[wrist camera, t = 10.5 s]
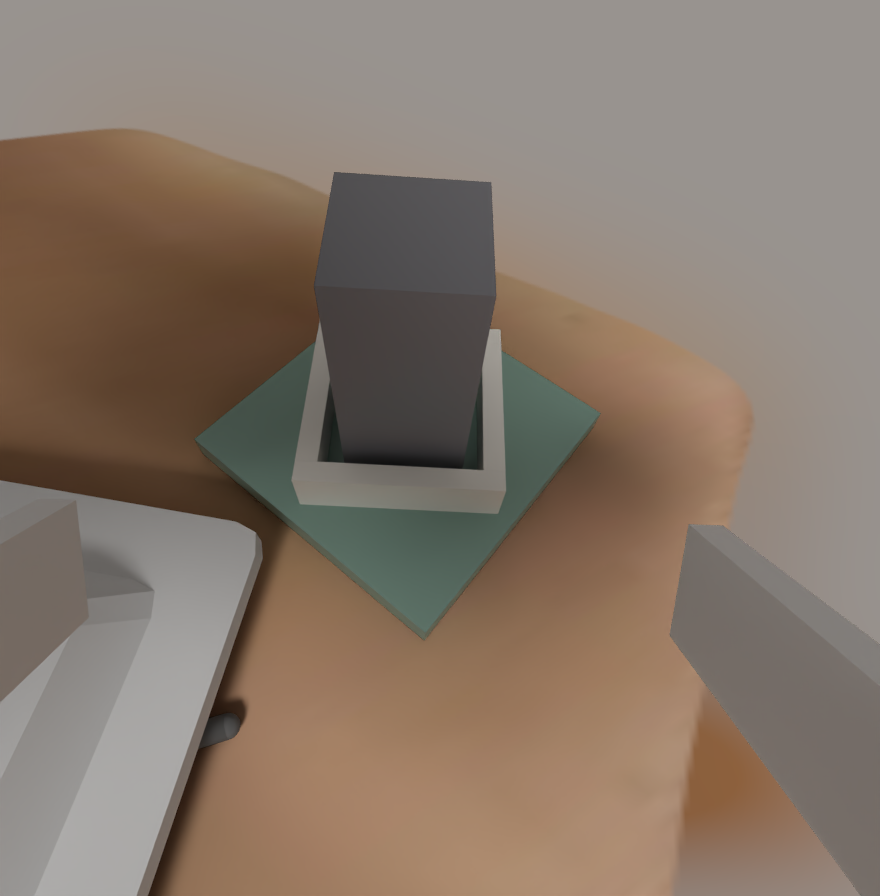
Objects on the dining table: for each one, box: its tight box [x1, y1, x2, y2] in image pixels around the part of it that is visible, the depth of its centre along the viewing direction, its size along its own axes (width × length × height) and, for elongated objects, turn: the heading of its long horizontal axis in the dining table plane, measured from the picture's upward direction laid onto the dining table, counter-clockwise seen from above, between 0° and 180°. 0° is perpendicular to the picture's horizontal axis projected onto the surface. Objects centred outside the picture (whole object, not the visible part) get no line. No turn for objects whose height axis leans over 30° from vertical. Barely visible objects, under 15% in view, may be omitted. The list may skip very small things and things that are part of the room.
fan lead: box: [198, 713, 240, 749], centre depth 18 cm, size 9×1×1 cm, turn 107°
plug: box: [314, 172, 496, 469], centre depth 20 cm, size 4×5×10 cm
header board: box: [195, 321, 601, 640], centre depth 24 cm, size 12×12×3 cm
